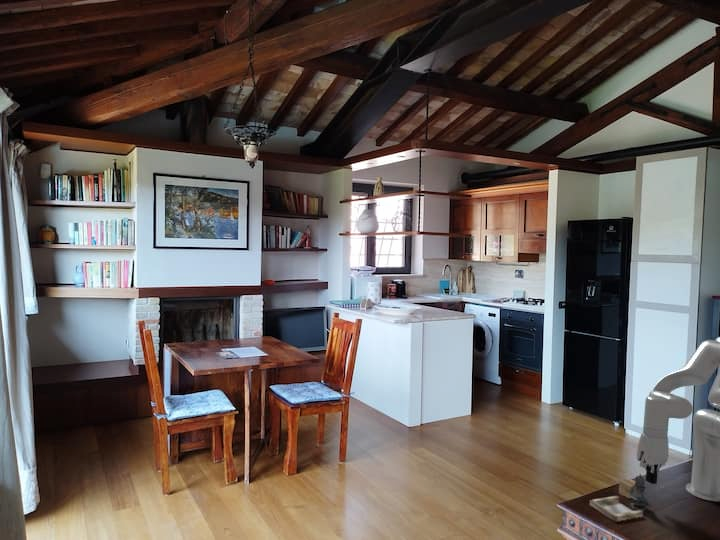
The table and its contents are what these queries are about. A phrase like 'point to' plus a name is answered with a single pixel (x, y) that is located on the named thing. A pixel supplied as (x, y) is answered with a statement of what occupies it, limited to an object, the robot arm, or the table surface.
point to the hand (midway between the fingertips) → (651, 482)
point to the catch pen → (614, 509)
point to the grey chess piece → (638, 494)
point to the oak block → (626, 487)
